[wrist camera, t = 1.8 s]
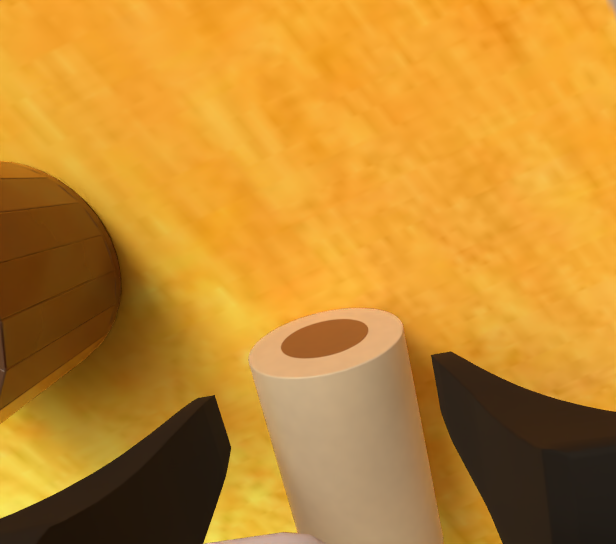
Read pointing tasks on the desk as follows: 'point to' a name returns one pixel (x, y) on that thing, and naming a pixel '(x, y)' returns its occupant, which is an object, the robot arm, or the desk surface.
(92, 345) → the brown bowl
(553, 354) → the desk surface
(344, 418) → the paper roll
